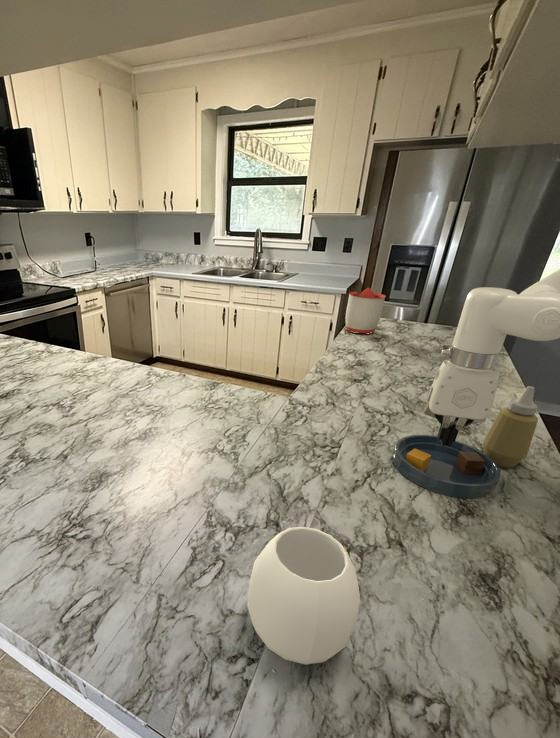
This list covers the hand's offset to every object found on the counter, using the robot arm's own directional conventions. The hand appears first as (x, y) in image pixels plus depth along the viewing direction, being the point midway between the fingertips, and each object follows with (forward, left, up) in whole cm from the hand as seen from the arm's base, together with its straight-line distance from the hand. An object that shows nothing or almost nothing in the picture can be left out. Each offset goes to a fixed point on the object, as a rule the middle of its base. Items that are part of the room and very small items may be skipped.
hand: (444, 443), depth 82 cm
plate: (-1, 0, -7) cm, 7 cm away
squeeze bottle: (-14, -9, -7) cm, 18 cm away
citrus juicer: (+14, -116, -7) cm, 117 cm away
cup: (+24, +47, -7) cm, 53 cm away
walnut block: (-6, -2, -6) cm, 9 cm away
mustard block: (+4, +1, -6) cm, 8 cm away
